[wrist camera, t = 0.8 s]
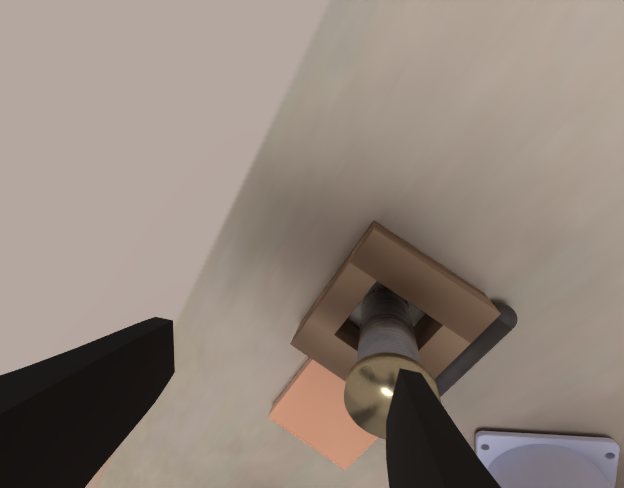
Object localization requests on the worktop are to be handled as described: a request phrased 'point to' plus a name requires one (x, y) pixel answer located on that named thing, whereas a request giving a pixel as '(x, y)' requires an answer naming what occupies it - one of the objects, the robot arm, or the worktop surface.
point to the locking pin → (381, 360)
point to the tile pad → (321, 415)
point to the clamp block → (418, 291)
